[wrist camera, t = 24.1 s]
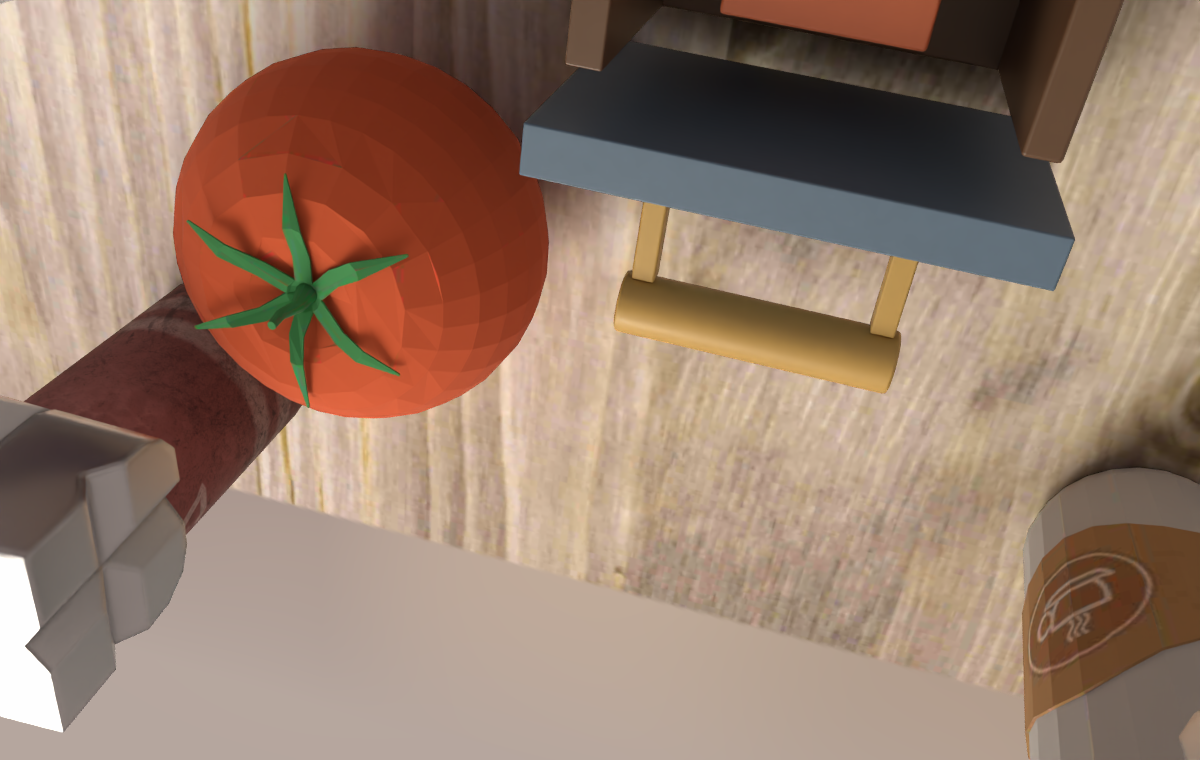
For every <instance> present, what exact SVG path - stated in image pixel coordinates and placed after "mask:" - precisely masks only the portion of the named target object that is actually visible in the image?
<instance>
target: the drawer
mask: <svg viewBox="0 0 1200 760" xmlns="http://www.w3.org/2000/svg"><path fill="white" fill-rule="evenodd" d="M1123 2H1124V0H941V4H940V7H939V11H938V14H937V18H936V21H935V25H934V28H933V31H932V35H931V38H930V42H929V45H928V48H927V50H926V51H923V52H921V51H916V50H910V49H905V48H900V47H895V46H889V45H884V44H879V43H874V42H868V41H863V40H858V39H853V38H847V37H842V36H837V35H832V34H826V33H821V32H816V31H811V30H805V29H800V28H795V27H789V26H784V25H779V24H774V23H768V22H763V21H758V20H753V19H747V18H742V17H737V16H732V15H726V14H723V13H721V12H720V5H721V0H572V2H571V11H570V21H569V30H568V39H567V48H566V57H565V64H566V65H570V66H575V67H579V68H578V69H577V70H576V71H575V72H574V73H573V74H572V75H571V76H570V77H569V78H568V79H567V80H566V81H565V82H564V83H563V84H562V85H561V86H560V87H559V88H558V89H557V90H556V91H555V92H554V93H553V94H552V95H551V96H550V97H549V98H548V99H547V100H546V101H545V102H544V103H543V104H542V105H541V106H540V107H539V108H538V109H537V110H536V111H535V112H534V113H533V114H532V115H531V116H530V117H529V118H528V119H527V120H526V121H525V122H524V125H523V136H522V147H521V158H520V169H519V174H520V175H523V176H527V177H532V178H536V179H541V180H546V181H550V182H555V183H559V184H564V185H569V186H573V187H578V188H582V189H587V190H592V191H596V192H601V193H605V194H610V195H614V196H619V197H624V198H628V199H633V200H637V201H642V202H643V207H642V214H641V220H640V226H639V232H638V239H637V245H636V251H635V257H634V263H633V270H630V271H628V272H627V273H626V275H625V277H624V279H623V281H622V284H621V288H620V291H619V295H618V299H617V303H616V309H615V315H614V328H615V330H617V331H619V332H623V333H628V334H632V335H636V336H640V337H645V338H649V339H653V340H657V341H662V342H666V343H670V344H674V345H678V346H683V347H687V348H691V349H695V350H700V351H704V352H708V353H712V354H717V355H721V356H725V357H729V358H734V359H738V360H742V361H746V362H751V363H755V364H759V365H763V366H767V367H772V368H776V369H780V370H784V371H789V372H793V373H797V374H801V375H806V376H810V377H814V378H818V379H823V380H827V381H831V382H835V383H840V384H844V385H848V386H852V387H856V388H861V389H865V390H869V391H873V392H878V393H886V391H887V390H888V388H889V386H890V384H891V381H892V378H893V375H894V372H895V369H896V365H897V361H898V357H899V352H900V346H901V333H900V332H899V331H896V330H897V327H898V324H899V321H900V318H901V315H902V312H903V308H904V305H905V302H906V299H907V296H908V293H909V290H910V287H911V284H912V280H913V277H914V274H915V271H916V268H917V265H918V262H922V263H927V264H931V265H936V266H940V267H945V268H949V269H954V270H959V271H963V272H968V273H972V274H977V275H982V276H986V277H991V278H995V279H1000V280H1005V281H1009V282H1014V283H1018V284H1023V285H1027V286H1032V287H1037V288H1041V289H1046V290H1050V291H1054V290H1055V288H1056V286H1057V283H1058V281H1059V278H1060V276H1061V273H1062V271H1063V268H1064V266H1065V264H1066V261H1067V259H1068V256H1069V254H1070V251H1071V249H1072V246H1073V244H1074V241H1075V237H1074V234H1073V231H1072V228H1071V225H1070V223H1069V220H1068V217H1067V214H1066V211H1065V208H1064V205H1063V202H1062V199H1061V196H1060V193H1059V190H1058V187H1057V184H1056V181H1055V178H1054V175H1053V172H1052V169H1051V166H1050V163H1049V162H1054V163H1061V162H1062V161H1063V160H1064V157H1065V154H1066V152H1067V149H1068V147H1069V144H1070V141H1071V139H1072V136H1073V133H1074V131H1075V128H1076V126H1077V123H1078V120H1079V118H1080V115H1081V112H1082V110H1083V107H1084V105H1085V102H1086V99H1087V97H1088V94H1089V91H1090V89H1091V86H1092V84H1093V81H1094V78H1095V76H1096V73H1097V70H1098V68H1099V65H1100V63H1101V60H1102V57H1103V55H1104V52H1105V49H1106V47H1107V44H1108V42H1109V39H1110V36H1111V34H1112V31H1113V28H1114V26H1115V23H1116V21H1117V18H1118V15H1119V13H1120V10H1121V7H1122V5H1123ZM661 6H667V7H672V8H677V9H683V10H688V11H693V12H698V13H704V14H709V15H714V16H719V17H724V18H730V19H735V20H740V21H745V22H751V23H756V24H761V25H766V26H771V27H777V28H782V29H787V30H792V31H798V32H803V33H808V34H813V35H818V36H824V37H829V38H834V39H839V40H845V41H850V42H855V43H860V44H866V45H871V46H876V47H881V48H886V49H892V50H897V51H902V52H907V53H913V54H918V55H923V56H928V57H933V58H939V59H944V60H949V61H954V62H960V63H965V64H970V65H975V66H980V67H986V68H991V69H996V70H998V71H999V74H1000V78H1001V81H1002V85H1003V89H1004V92H1005V96H1006V100H1007V103H1008V107H1009V110H1010V114H1011V116H1007V115H1002V114H997V113H992V112H987V111H982V110H977V109H972V108H967V107H962V106H957V105H952V104H946V103H941V102H936V101H931V100H926V99H921V98H916V97H911V96H906V95H901V94H896V93H891V92H886V91H880V90H875V89H870V88H865V87H860V86H855V85H850V84H845V83H840V82H835V81H830V80H825V79H820V78H814V77H809V76H804V75H799V74H794V73H789V72H784V71H779V70H774V69H769V68H764V67H759V66H753V65H748V64H743V63H738V62H733V61H728V60H723V59H718V58H713V57H708V56H703V55H698V54H693V53H687V52H682V51H677V50H672V49H667V48H662V47H657V46H652V45H647V44H642V43H637V42H632V41H630V40H631V39H632V38H633V36H634V35H635V34H636V33H637V32H638V31H639V30H640V29H641V28H642V27H643V26H644V25H645V23H646V22H647V21H648V20H649V19H650V18H651V17H652V16H653V15H654V14H655V13H656V12H657V10H658V9H659V8H660V7H661ZM670 208H674V209H679V210H683V211H688V212H692V213H697V214H702V215H706V216H711V217H715V218H720V219H725V220H729V221H734V222H738V223H743V224H748V225H752V226H757V227H761V228H766V229H770V230H775V231H780V232H784V233H789V234H793V235H798V236H803V237H807V238H812V239H816V240H821V241H826V242H830V243H835V244H839V245H844V246H848V247H853V248H858V249H862V250H867V251H871V252H876V253H881V254H885V255H890V259H889V262H888V265H887V269H886V272H885V275H884V279H883V282H882V285H881V288H880V292H879V295H878V298H877V302H876V305H875V308H874V311H873V315H872V318H871V321H870V324H865V323H861V322H856V321H852V320H848V319H843V318H839V317H834V316H830V315H826V314H821V313H817V312H812V311H808V310H804V309H799V308H795V307H790V306H786V305H782V304H777V303H773V302H768V301H764V300H760V299H755V298H751V297H746V296H742V295H738V294H733V293H729V292H725V291H720V290H716V289H711V288H707V287H703V286H698V285H694V284H689V283H685V282H681V281H676V280H672V279H667V278H663V277H659V276H657V275H658V272H659V266H660V260H661V255H662V249H663V243H664V238H665V232H666V226H667V221H668V215H669V209H670Z"/></svg>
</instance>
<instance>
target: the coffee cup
mask: <svg viewBox="0 0 1200 760" xmlns="http://www.w3.org/2000/svg"><path fill="white" fill-rule="evenodd" d="M1023 564H1024V594H1025V602H1024V607H1023V612H1022V628H1023V666H1024V703H1025V735H1026V743H1027V752H1028V757H1029V759H1030V760H1185V758H1184V755H1183V751H1182V748H1181V744H1180V741H1179V735H1180V734H1181V732H1182V731H1183V729H1184V728H1185V726H1186V725H1187V723H1188V722H1189V720H1190V719H1191V717H1192V716H1193V714H1194V713H1196V712H1197V711H1199V710H1200V484H1198V483H1195V482H1193V481H1192V480H1190V479H1187V478H1184V477H1182V476H1179V475H1176V474H1173V473H1170V472H1167V471H1163V470H1155V469H1147V468H1139V467H1138V468H1124V469H1111V470H1108V471H1104V472H1100V473H1097V474H1093V475H1089V476H1086V477H1084V478H1082V479H1080V480H1078V481H1076V482H1074V483H1073V484H1071V485H1069V486H1067V487H1065V488H1063V489H1062V490H1061V491H1060V492H1059V493H1058V494H1057V495H1055V496H1054V497H1053V498H1052V499H1051V500H1050V501H1048V502H1047V504H1046V505H1045V507H1044V508H1043V509H1042V510H1041V511H1040V513H1039V514H1038V516H1037V517H1036V519H1035V520H1034V522H1033V523H1032V525H1031V526H1030V528H1029V529H1028V533H1027V537H1026V541H1025V544H1024V548H1023Z"/></svg>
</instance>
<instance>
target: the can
mask: <svg viewBox="0 0 1200 760" xmlns="http://www.w3.org/2000/svg"><path fill="white" fill-rule="evenodd" d="M201 323H203V321H202V320H201V319H200V317H199V315H198V313H197V311H196V309H195V307H194V305H193V303H192V301H191V299H190V297H189V295H188V293H187V291H186V288H185V285H184V284H181V285H179V286H178V287H176V288H175V289H174V290H172V291H171V292H170V293H168V294H167V295H166V296H164V297H163V298H162V299H160V300H159V301H158V302H156V303H155V304H154V305H152V306H151V307H150V308H148V309H147V310H146V311H144V312H143V313H142V314H140V315H139V316H138V317H136V318H135V319H134V320H132V321H131V322H130V323H128V324H127V325H126V326H124V327H123V328H122V329H120V330H119V331H118V332H116V333H115V334H114V335H112V336H111V337H110V338H108V339H107V340H106V341H104V342H103V343H102V344H100V345H99V346H98V347H96V348H95V349H93V350H92V351H91V352H89V353H88V354H87V355H85V356H84V357H83V358H81V359H80V360H79V361H77V362H76V363H75V364H73V365H72V366H71V367H69V368H68V369H67V370H65V371H64V372H63V373H61V374H60V375H59V376H57V377H56V378H55V379H53V380H52V381H51V382H49V383H48V384H47V385H45V386H44V387H43V388H41V389H40V390H39V391H37V392H36V393H35V394H33V395H32V396H31V397H29V398H28V399H27V400H25V401H24V402H26V403H30V404H33V405H37V406H40V407H44V408H47V409H50V410H54V409H56V410H60V411H63V412H67V413H70V414H74V415H77V416H81V417H85V418H88V419H92V420H95V421H99V422H103V423H106V424H110V425H113V426H117V427H121V428H124V429H128V430H131V431H135V432H139V433H142V434H146V435H149V436H153V437H156V438H160V439H162V440H163V441H165V442H166V443H168V444H169V445H171V446H172V447H174V448H175V453H176V460H177V466H178V472H179V478H180V481H179V482H178V483H177V484H176V485H175V486H174V487H173V489H172V490H171V491H170V492H169V493H168V494H167V495H166V496H165V497H166V498H167V499H168V501H169V502H170V503H171V505H172V506H173V507H174V509H175V510H176V511H177V513H178V514H179V515H180V516H181V518H182V519H183V520H184V522H185V530H186V534H187V533H188V532H189V531H190V530H191V529H192V528H193V527H194V525H195V524H196V523H197V522H198V521H199V520H200V519H201V518H202V517H203V516H204V514H205V513H206V512H207V511H208V510H209V509H210V508H211V507H212V506H213V505H214V504H215V502H216V501H217V500H218V499H219V498H220V497H221V496H222V495H223V494H224V493H225V491H226V490H227V489H228V488H229V487H230V486H231V485H232V484H233V483H234V482H235V481H236V479H237V478H238V477H239V476H240V475H241V474H242V473H243V472H244V471H245V470H246V468H247V467H248V466H249V465H250V464H251V463H252V462H253V461H254V460H255V459H256V457H257V456H258V455H259V454H260V453H261V452H262V451H263V450H264V449H265V448H266V446H267V445H268V444H269V443H270V442H271V441H272V440H273V439H274V438H275V437H276V435H277V434H278V433H279V432H280V431H281V430H282V429H283V428H284V427H285V426H286V424H287V423H288V422H289V421H290V420H291V419H292V418H293V417H294V416H295V415H296V413H297V411H298V410H299V408H300V407H301V404H299V403H296V402H294V401H291V400H289V399H288V398H286V397H284V396H282V395H281V394H279V393H277V392H275V391H274V390H272V389H270V388H268V387H267V386H265V385H264V384H262V383H261V382H260V381H258V380H257V379H256V378H255V377H253V376H252V375H251V374H249V373H248V372H247V371H246V370H244V369H243V368H242V367H241V366H239V364H238V363H237V362H236V361H235V360H234V359H233V358H232V357H231V356H230V355H229V354H228V353H227V352H226V351H225V350H224V349H223V348H222V347H221V346H220V345H219V344H218V342H217V341H216V340H215V338H214V337H213V335H212V334H211V333H210V331H209V330H208V329H195V328H194V326H195V325H198V324H201Z"/></svg>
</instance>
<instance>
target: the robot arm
mask: <svg viewBox="0 0 1200 760" xmlns="http://www.w3.org/2000/svg"><path fill="white" fill-rule="evenodd" d="M179 481H180V478H179V472H178V466H177V460H176V453H175V448H174V447H172V446H171V445H169V444H168V443H166V442H165V441H163V440H162V439H160V438H156V437H153V436H149V435H146V434H142V433H139V432H135V431H131V430H128V429H124V428H121V427H117V426H113V425H110V424H106V423H103V422H99V421H95V420H92V419H88V418H85V417H81V416H77V415H74V414H70V413H67V412H63V411H60V410H56V409H54V410H50V409H47V408H44V407H40V406H37V405H33V404H30V403H26V402H23V401H19V400H16V399H12V398H9V397H5V396H2V395H0V716H2V717H6V718H10V719H14V720H18V721H21V722H25V723H29V724H33V725H36V726H40V727H44V728H48V729H52V730H56V731H60V732H64V731H65V730H66V729H67V727H68V726H69V725H70V724H71V723H72V721H73V720H74V719H75V718H76V717H77V715H78V714H79V713H80V711H82V709H83V708H84V707H85V706H86V705H87V703H88V702H89V701H90V700H91V698H92V697H93V696H94V695H95V694H96V693H97V691H98V690H99V689H100V688H101V687H102V685H103V684H104V683H105V682H106V680H107V679H108V678H109V677H110V676H111V674H112V673H113V672H114V671H115V670H116V659H115V644H117V643H119V642H121V641H123V640H125V639H128V638H130V637H132V636H135V635H137V634H139V633H141V632H143V631H145V630H148V629H149V628H150V627H151V626H152V624H153V623H154V622H155V621H156V619H157V618H158V617H159V615H160V614H161V613H162V612H163V610H164V609H165V608H166V607H167V605H168V604H169V602H170V600H171V598H172V595H173V593H174V591H175V588H176V586H177V584H178V581H179V579H180V577H181V575H182V572H183V568H184V561H185V554H186V547H187V541H186V530H185V522H184V520H183V519H182V518H181V516H180V515H179V514H178V513H177V511H176V510H175V509H174V507H173V506H172V505H171V503H170V502H169V501H168V499H167V498H166V497H165V496H166V495H167V494H168V493H169V492H170V491H171V490H172V489H173V487H174V486H175V485H176V484H177V483H178V482H179ZM1179 741H1180V744H1181V748H1182V751H1183V755H1184V758H1185V760H1200V710H1199V711H1197V712H1196V713H1194V714H1193V716H1192V717H1191V719H1190V720H1189V722H1188V723H1187V725H1186V726H1185V728H1184V729H1183V731H1182V732H1181V734H1180V735H1179Z"/></svg>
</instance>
